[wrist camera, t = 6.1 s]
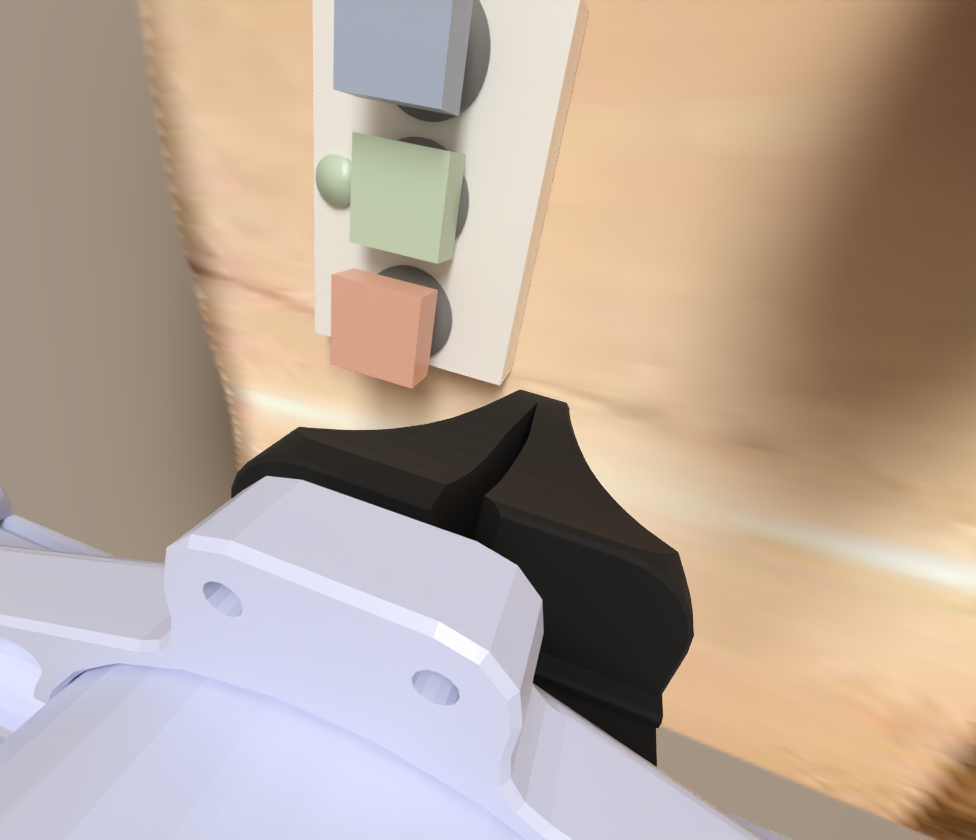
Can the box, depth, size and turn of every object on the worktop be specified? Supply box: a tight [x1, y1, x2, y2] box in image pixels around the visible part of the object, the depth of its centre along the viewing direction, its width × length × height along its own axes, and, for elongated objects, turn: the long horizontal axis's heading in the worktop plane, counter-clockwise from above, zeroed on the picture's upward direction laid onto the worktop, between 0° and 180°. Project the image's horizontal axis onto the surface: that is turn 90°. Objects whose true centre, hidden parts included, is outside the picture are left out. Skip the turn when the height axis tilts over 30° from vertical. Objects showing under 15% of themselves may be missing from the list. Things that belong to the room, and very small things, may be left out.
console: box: [313, 0, 589, 386], centre depth 18 cm, size 13×9×2 cm
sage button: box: [349, 132, 466, 264], centre depth 17 cm, size 4×4×2 cm
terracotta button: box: [330, 268, 438, 389], centre depth 18 cm, size 4×4×2 cm
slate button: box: [333, 0, 473, 116], centre depth 13 cm, size 4×4×2 cm
